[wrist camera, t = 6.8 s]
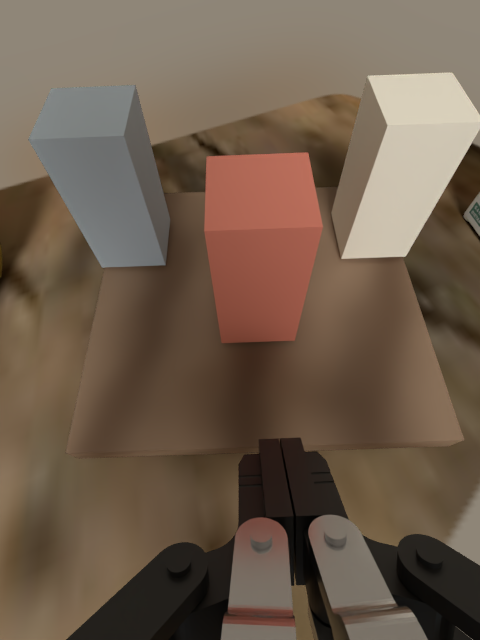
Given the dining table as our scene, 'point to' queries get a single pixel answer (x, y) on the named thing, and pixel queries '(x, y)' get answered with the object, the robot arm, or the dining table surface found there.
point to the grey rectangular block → (105, 172)
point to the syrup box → (474, 214)
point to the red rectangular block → (260, 242)
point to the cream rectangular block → (400, 161)
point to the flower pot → (0, 261)
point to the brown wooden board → (257, 359)
